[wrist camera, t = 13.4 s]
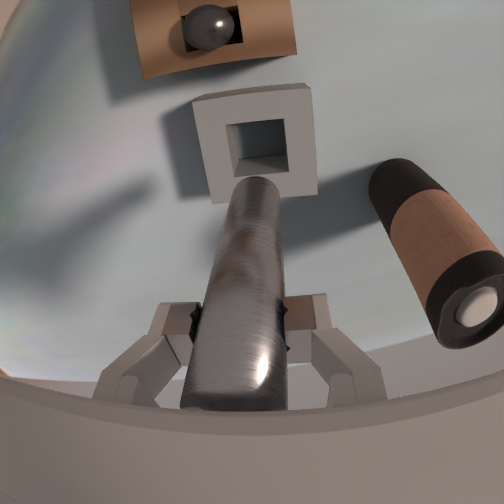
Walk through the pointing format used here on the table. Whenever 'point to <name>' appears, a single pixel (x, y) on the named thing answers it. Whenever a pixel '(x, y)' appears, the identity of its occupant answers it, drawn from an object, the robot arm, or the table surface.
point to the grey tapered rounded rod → (243, 311)
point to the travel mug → (441, 254)
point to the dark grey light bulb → (208, 27)
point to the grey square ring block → (271, 167)
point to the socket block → (187, 57)
